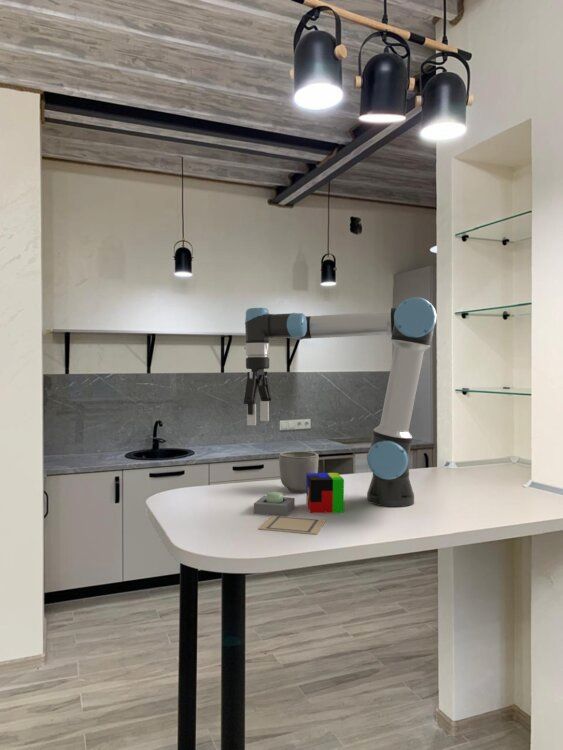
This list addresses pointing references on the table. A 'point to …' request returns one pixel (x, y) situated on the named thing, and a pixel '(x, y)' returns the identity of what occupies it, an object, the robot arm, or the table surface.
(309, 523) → the sheet
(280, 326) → the robot arm
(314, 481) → the puzzle toy
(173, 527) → the table surface
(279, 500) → the button
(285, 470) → the planter
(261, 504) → the button box
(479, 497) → the table surface
